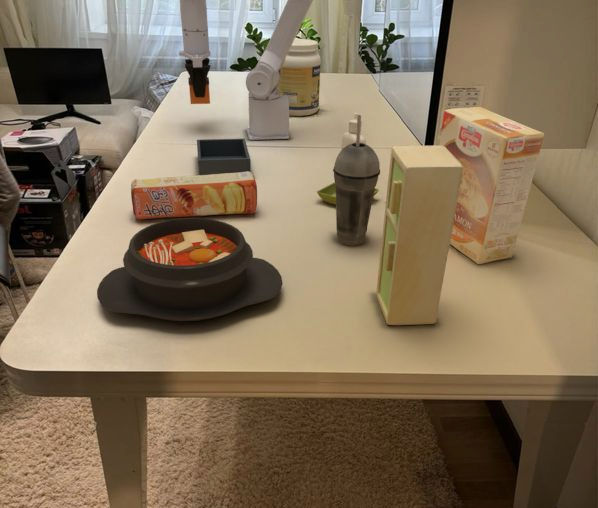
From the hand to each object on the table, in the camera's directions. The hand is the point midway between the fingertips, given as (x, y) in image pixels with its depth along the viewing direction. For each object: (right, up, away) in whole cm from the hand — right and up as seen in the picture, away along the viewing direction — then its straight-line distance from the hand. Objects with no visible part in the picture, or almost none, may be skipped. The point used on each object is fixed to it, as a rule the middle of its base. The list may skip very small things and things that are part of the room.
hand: (199, 94), depth 140 cm
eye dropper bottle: (+34, -24, -17) cm, 45 cm away
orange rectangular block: (0, -1, +1) cm, 2 cm away
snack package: (+5, -36, -35) cm, 51 cm away
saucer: (+32, -33, -29) cm, 54 cm away
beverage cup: (+32, -42, -42) cm, 68 cm away
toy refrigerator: (+37, -55, -59) cm, 89 cm away
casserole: (+9, -53, -58) cm, 79 cm away
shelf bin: (+8, -22, -16) cm, 29 cm away
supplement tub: (+23, +4, +21) cm, 31 cm away
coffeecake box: (+51, -43, -42) cm, 79 cm away
